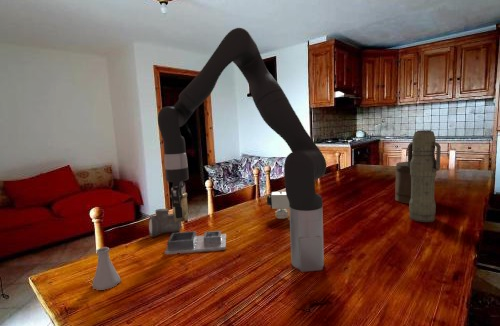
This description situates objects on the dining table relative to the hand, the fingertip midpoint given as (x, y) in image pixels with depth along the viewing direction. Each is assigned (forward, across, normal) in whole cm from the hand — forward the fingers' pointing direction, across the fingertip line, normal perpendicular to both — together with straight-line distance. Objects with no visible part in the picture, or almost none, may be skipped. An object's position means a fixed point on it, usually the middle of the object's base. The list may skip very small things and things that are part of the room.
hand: (180, 214), depth 101 cm
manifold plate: (+11, 0, -5) cm, 12 cm away
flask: (+11, -22, +17) cm, 30 cm away
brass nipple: (+2, 0, 0) cm, 2 cm away
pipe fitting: (+12, +14, +9) cm, 20 cm away
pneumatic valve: (+11, +23, -39) cm, 47 cm away
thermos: (+11, +9, -93) cm, 94 cm away
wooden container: (+11, +34, -105) cm, 111 cm away
